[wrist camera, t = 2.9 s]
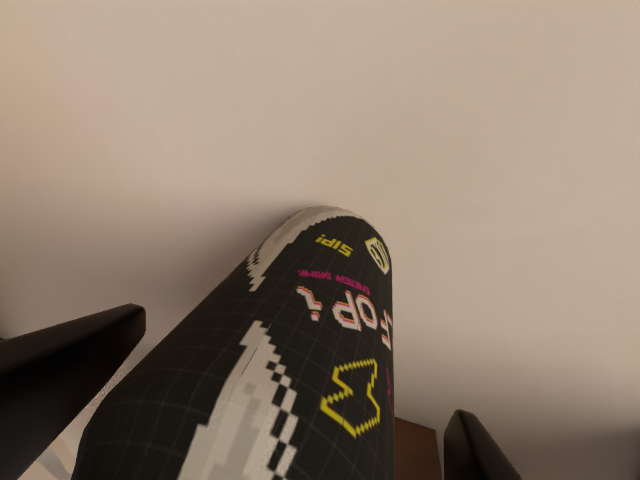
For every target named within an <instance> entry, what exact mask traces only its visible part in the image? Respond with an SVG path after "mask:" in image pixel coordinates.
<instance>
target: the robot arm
mask: <svg viewBox="0 0 640 480" xmlns="http://www.w3.org/2000/svg"><path fill="white" fill-rule="evenodd" d="M145 331H146V312H145V309H144V307H142V306H139V305H136V304H132V303H130V304H126V305H122V306H119V307H115V308H112V309H109V310H105V311H102V312H99V313H95V314H92V315H89V316H85V317H82V318H78V319H75V320H72V321H68V322H65V323H62V324H58V325H55V326H51V327H48V328H45V329H41V330H38V331H35V332H31V333H28V334H24V335H21V336H18V337H14V338H11V339H7V340H4V341H1V342H0V480H17V479H18V478H19V477H20V476H21V475H22V474H23V473H24V472H25V471H26V470H27V469H28V468H29V466H30V465H31V464H32V463H33V462H34V461H35V460H36V459H37V458H38V457H39V456H40V455H41V454H42V453H43V451H44V450H45V449H46V448H47V447H48V446H49V445H50V444H51V443H52V442H53V441H54V440H55V439H56V438H57V436H58V435H59V434H60V433H61V432H62V431H63V430H64V429H65V428H66V427H67V426H68V425H69V424H70V422H71V421H72V420H73V419H74V418H75V417H76V416H77V415H78V414H79V413H80V412H81V411H82V410H83V409H84V407H85V406H86V405H87V404H88V403H89V402H90V401H91V400H92V399H93V398H94V397H95V396H96V395H97V393H98V392H99V391H100V390H101V389H102V388H103V387H104V386H105V385H106V384H107V382H108V381H109V380H110V379H111V377H112V376H113V375H114V374H115V372H116V371H117V370H118V369H119V367H120V366H121V365H122V363H123V362H124V361H125V360H126V358H127V357H128V356H129V354H130V353H131V352H132V351H133V349H134V348H135V347H136V345H137V344H138V343H139V342H140V340H141V339H142V338H143V336H144V334H145ZM444 480H523V479H522V478H521V477H520V475H519V474H518V473H517V471H516V470H515V468H514V467H513V466H512V464H511V463H510V462H509V460H508V459H507V458H506V456H505V455H504V454H503V452H502V451H501V449H500V448H499V447H498V445H497V444H496V443H495V441H494V440H493V439H492V437H491V436H490V435H489V433H488V432H487V431H486V429H485V428H484V426H483V425H482V424H481V422H480V421H479V420H478V418H477V417H476V416H475V415H474V414H473V413H470V412H467V411H464V410H461V409H457V410H456V411H455V412H454V414H453V416H452V417H451V419H450V421H449V423H448V425H447V426H446V428H445V431H444Z"/></svg>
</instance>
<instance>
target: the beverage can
mask: <svg viewBox="0 0 640 480" xmlns="http://www.w3.org/2000/svg"><path fill="white" fill-rule="evenodd" d="M71 480H395V437H394V375H393V313H392V266H391V258H390V254H389V251H388V247H387V245H386V244H385V242H384V240H383V238H382V236H381V235H380V234H379V232H378V231H377V230H376V229H375V228H374V226H373V225H371V224H370V223H369V222H368V221H366V220H365V219H364V218H363V217H361V216H359V215H357V214H355V213H353V212H351V211H348V210H345V209H342V208H338V207H330V206H320V207H311V208H308V209H305V210H301V211H299V212H297V213H295V214H293V215H292V216H290V217H288V218H287V219H286V220H285V221H284V222H283V223H282V224H280V225H279V226H278V227H277V228H276V229H275V230H274V231H273V232H272V233H271V234H270V235H269V236H268V237H267V238H266V239H265V240H264V241H263V242H262V243H261V244H260V245H259V246H258V247H257V248H256V249H255V250H254V251H253V252H252V253H251V254H250V255H249V256H248V257H247V258H246V259H245V260H244V261H243V262H242V263H241V264H240V265H239V266H237V267H236V268H235V269H234V270H233V271H232V272H231V273H230V274H229V275H228V276H227V277H226V278H225V279H224V280H223V281H222V282H221V283H220V284H219V285H218V286H217V287H216V288H215V289H214V290H213V291H212V292H211V293H210V294H209V295H208V296H207V297H206V298H205V299H204V300H203V301H202V302H201V303H200V304H199V305H198V306H197V307H196V308H195V309H194V310H193V311H192V312H191V313H190V314H188V315H187V316H186V317H185V318H184V319H183V320H182V321H181V322H180V323H179V324H178V325H177V326H176V327H175V328H174V329H173V330H172V331H171V332H170V333H169V334H168V335H167V336H166V337H165V338H164V339H163V340H162V341H161V342H160V343H159V344H158V345H157V346H156V347H155V348H154V349H153V350H152V351H151V352H150V353H149V354H148V355H147V356H146V357H145V358H144V359H143V360H142V361H140V362H139V363H138V364H137V365H136V366H135V367H134V368H133V369H132V370H131V371H130V372H129V373H128V374H127V375H126V376H125V377H124V378H123V379H122V380H121V381H120V382H119V383H118V384H117V385H116V386H115V387H114V388H113V389H112V390H111V391H110V392H109V393H108V394H107V395H106V397H105V398H104V399H103V400H102V402H101V403H100V405H99V406H98V408H97V409H96V411H95V413H94V414H93V416H92V418H91V419H90V421H89V423H88V424H87V426H86V427H85V429H84V431H83V434H82V437H81V440H80V444H79V448H78V453H77V458H76V464H75V467H74V471H73V474H72V477H71Z"/></svg>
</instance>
